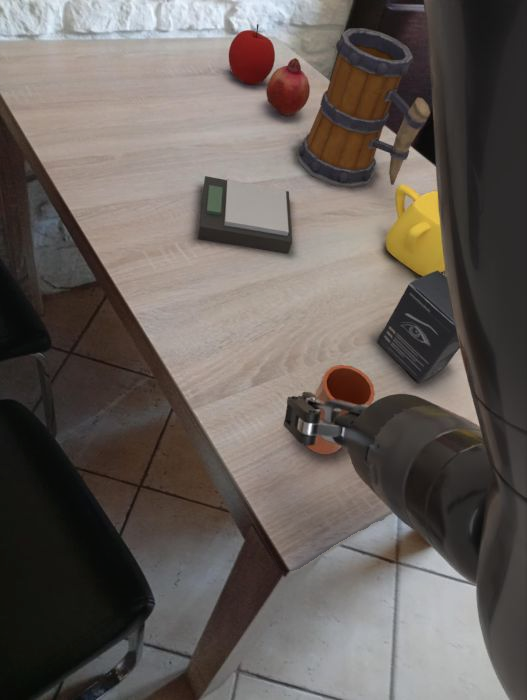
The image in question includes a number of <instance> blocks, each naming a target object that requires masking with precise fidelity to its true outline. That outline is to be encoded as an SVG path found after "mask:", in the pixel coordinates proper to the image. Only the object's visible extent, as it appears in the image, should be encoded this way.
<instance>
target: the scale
mask: <svg viewBox="0 0 527 700" xmlns="http://www.w3.org/2000/svg"><path fill="white" fill-rule="evenodd" d="M203 180H204V181H203V187H202V198H201V208H200V218H199V225H198V226H199V227H198V235H197V239H198V240H204V241H209V242H215V243H223V244H229V245H235V246H241V247H247V248H253V249H260V250H265V251H271V252H272V251H273V252H277V253H284V254H289V253H290V250H291V247H292V244H293V235H292V234H293V232H292V217H291V204H290V191H288V190H287V189H282V188H277V187H271V186H266V185H261V184H255V183H250V182H246V181H245V182H243V181H239V180H234V179H223V178H219V177H212V176H207V175H205V176H204V179H203Z"/></svg>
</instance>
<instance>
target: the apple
mask: <svg viewBox="0 0 527 700" xmlns="http://www.w3.org/2000/svg"><path fill="white" fill-rule="evenodd" d="M259 26H260V24H258V23H257V24H256V31H255V30H252V29H246V30H245V29H244V30H242V31H240V32H238V33H237V34H236V36H235V37H234V38H233V39H232V41H231V43H230V46H229V49H228V64H229V68H230V71H231V73H232V75H233V76H234V77H235V78H237V79H238V81H241V82H242V83H244V84H246V85H259V84H261V83H262V82H264V81H265V80H266V79H267V78H268V77H269V75H270V74H271V73H272V72H273V68H274V66H275V61H276V52H275V46H274V43H273V42H272V41H271V40H270V38H269V37H267V36H265V35H263V34H261V33H259V32H258V31H259Z"/></svg>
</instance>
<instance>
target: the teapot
mask: <svg viewBox="0 0 527 700" xmlns="http://www.w3.org/2000/svg"><path fill="white" fill-rule="evenodd" d="M394 194H395V196H394V199H395V200H394V201H395V208H396V209H395V210H396V214H397V218H396V220H395V221H394V222H393V224H392V226H391V227H390V229H389V231H388V232H387V234H386V238H385V247H386V250H387V252H388V253H390V254H391V256H393V257H394V258H395V259H397V260H398V261H399V262H400V263H402V264H403V265H404V266H406V267H407V268H408V269H410V270H411V271H413V272H414V273H416V274H417V275H420V277H423V276H425V275H427V274H430V273H432V272H435V271H439V272H440V273H441V274H442V272H446V271H445V263H444V255H443V247H442V237H441V227H440V217H439V205H438V191H437V190H432V191H429V192H427V193H425V194H423V195H420V194H419V193H418V192H417V191H415V189H414V188H412V187H411V186H408V185H407V184H399V185H398V186H397V187H396V189H395V193H394ZM406 196H407V197H409V198H410V199H411V200H412V201H413V202H412V203H411V204H410V205H409V206H408V207H407V208H406V209H405V201H406V199H405V198H406Z"/></svg>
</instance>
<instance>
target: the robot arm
mask: <svg viewBox="0 0 527 700" xmlns="http://www.w3.org/2000/svg"><path fill="white" fill-rule="evenodd" d="M422 3H423V11H424V20H425V27H426V37H427V38H426V39H427V51H428V64H429V78H430V87H431V88H430V90H431V91H430V92H431V104H432V120H433V121H432V122H433V138H434V157H435V158H434V159H435V175H436V176H435V177H436V188H437V189H436V191H438V205H439V217H440V227H441V237H442V247H443V255H444V263H445V271H444V272H445V277H446V278H447V284H448V291H449V297H450V303H451V309H452V314H453V319H454V323H455V328H456V333H457V338H458V342H459V346H460V348H459V350H460V355H461V359H462V363H463V367H464V371H465V373H466V374H465V375H466V378H467V383H468V387H469V390H470V394H471V398H472V402H473V407H474V410H475V414H476V417H477V421H478V424H476V423H475V422H474V421H472V420H470V419H468V418H467V417H464V416H462V415H459V414H457V413H455V412H453V411H451V410H448V409H446V408H444V407H442V406H440V405H437V404H436V403H433V402H431V401H429V400H428V399H427V400H426V399H424V398H423V397H420V396H417V395H415V394H409V393H394V394H390V395H389V394H388V395H386V396H383V397H380V398H379V399H377V400H374V401H373V402H372V403H371V405H368V404H363V405H357V404H354V403H350V402H347V401H343V400H340V399H335V400H328V401H327V402H326V401H323V400H320V399H319V398H317V397H316V396H315V395H314V393H312V392H310V391H303V392H302V394H301V395H298V396H296V395H292V396H287V399H286V410H285V415H284V420H283V427H284V428H285V429H286V430H287V431H288V432H289V433H290V434H291V435H292V436H293V437H294V438H295V439H296V440H297V441H298V442H299V443H300V444H301V445H303V446H305V447H307V446H310V445H315V441H316V439H317V436H321V437H322V439H323V440H325V441H328V442H331V443H334V444H337V445H339V446H341V448H342V447H343V448H345V449H346V450H347V453H348V455H349V459H350V461H351V462H350V463H351V464H352V467H353V469H354V471H355V472H356V474H357V476H358V478H360V479H361V480H362V482H363V483H364V484H365V485H366V486H367V487H368V488H369V489H370V490H371V491H372V492H373V493H374V494H375V495H376V497H377V498H379V500H380V501H381V502H382V503H383V504H384V505H385V506H386V507H387V508H388V509H389V511H391V512H392V514H394V515H395V516H396V517H397V518H398V519H399V520H400V521H402V523H403V524H405V526H406V525H407V526H408V527H409V528H410V529H412V530H413V531H415V532H417V533H418V534H419V535H420V536H421V538H422V539H424V540H425V541H426V543H428V544H429V546H430V547H432V548H433V550H434V551H436V552H437V554H438V555H440V556H441V557H442V558H443V560H444V561H445V562H446V563H447V564H448V565H449V566H450V567H451V568H452V569H453V570H454V571H455V572H456V573H458V575H459V576H461V577H462V578H464V579H465V580H466V581H467V582H469V583H471V584H472V585H475V596H476V597H475V599H476V608H477V617H478V623H479V627H480V631H481V636H482V639H483V643H484V646H485V649H486V653H487V656H488V658H489V659H488V660H489V661H490V664H491V667H492V669H493V671H494V673H495V675H496V678H497V680H498V681H499V684H500V686H501V687H502V689H503V691H504V693H505V695H506V697H507V698H508V700H527V0H422ZM319 408H320V409H323V410H324V412H325V414H324V420H323V419H320V414H321V410H319ZM341 409H342V410H345V411H349V412H347V413H345V414H343V415H340V412H341Z"/></svg>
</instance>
